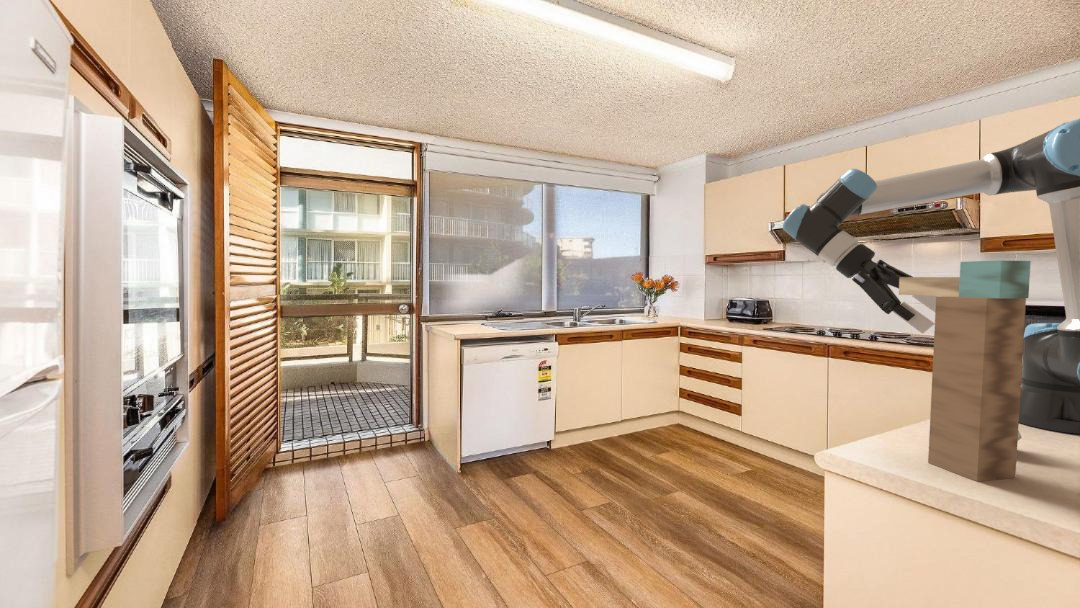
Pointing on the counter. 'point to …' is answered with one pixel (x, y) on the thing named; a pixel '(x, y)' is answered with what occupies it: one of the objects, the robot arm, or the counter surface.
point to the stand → (976, 386)
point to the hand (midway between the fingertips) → (937, 319)
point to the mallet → (974, 281)
